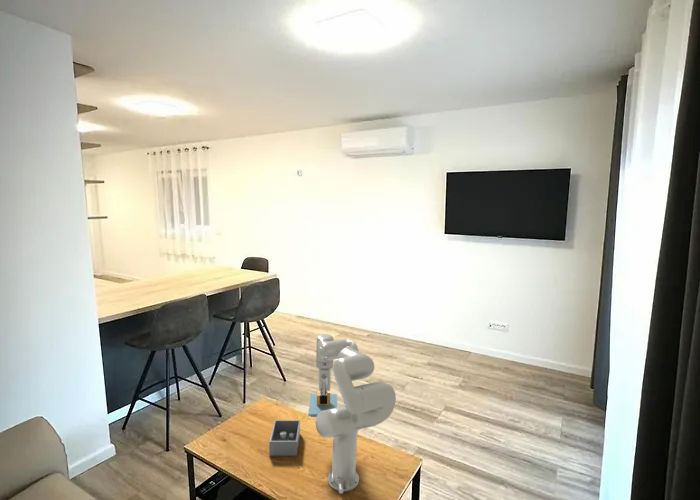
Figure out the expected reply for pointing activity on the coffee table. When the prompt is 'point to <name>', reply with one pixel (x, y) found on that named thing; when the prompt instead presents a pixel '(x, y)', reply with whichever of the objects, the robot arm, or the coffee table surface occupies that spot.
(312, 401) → the tub lid
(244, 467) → the coffee table surface
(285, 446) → the parts tub
